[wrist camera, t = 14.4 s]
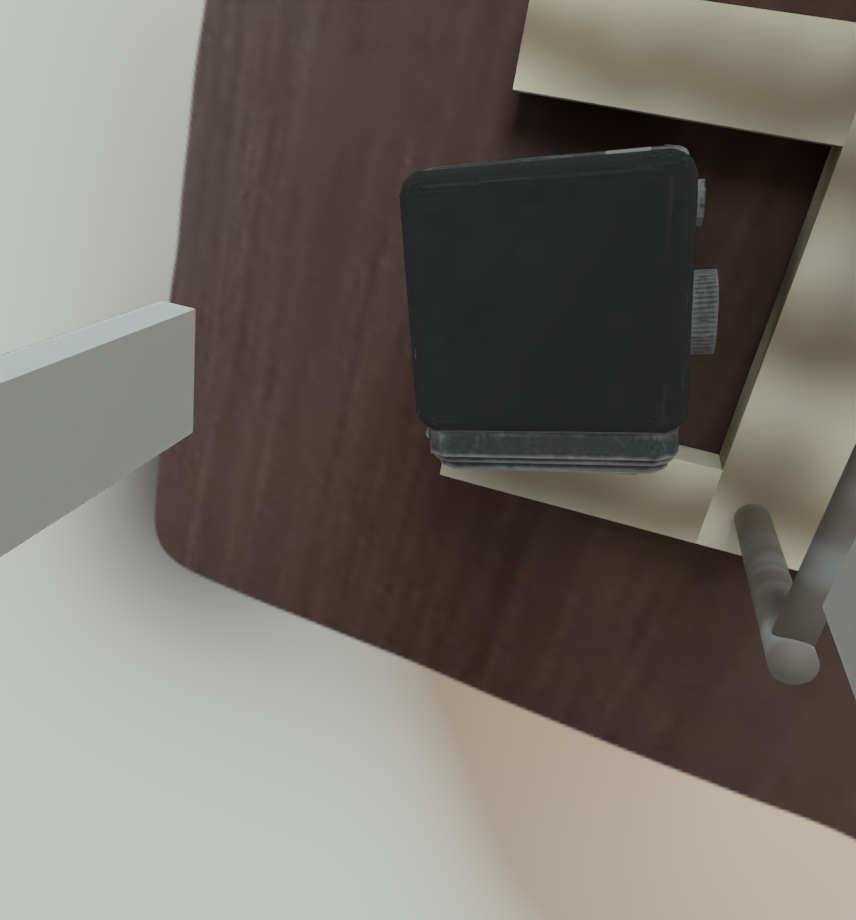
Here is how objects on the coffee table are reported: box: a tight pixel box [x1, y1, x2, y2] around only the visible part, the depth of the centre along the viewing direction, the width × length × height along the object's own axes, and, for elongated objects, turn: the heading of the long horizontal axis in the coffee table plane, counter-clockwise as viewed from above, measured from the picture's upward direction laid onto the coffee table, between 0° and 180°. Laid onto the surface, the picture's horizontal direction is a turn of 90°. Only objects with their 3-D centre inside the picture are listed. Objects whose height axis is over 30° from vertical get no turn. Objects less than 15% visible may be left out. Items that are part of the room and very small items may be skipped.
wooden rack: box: [440, 0, 856, 685], centre depth 28 cm, size 22×20×13 cm
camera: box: [400, 144, 719, 475], centre depth 28 cm, size 10×10×15 cm
